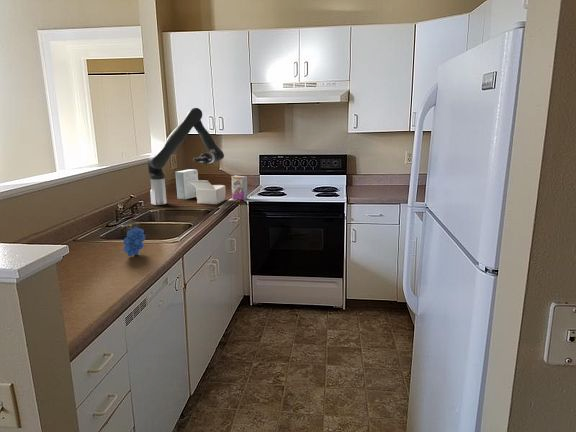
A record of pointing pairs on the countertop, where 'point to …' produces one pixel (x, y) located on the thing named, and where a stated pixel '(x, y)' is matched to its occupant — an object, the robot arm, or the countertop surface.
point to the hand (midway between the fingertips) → (196, 160)
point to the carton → (211, 195)
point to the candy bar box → (239, 187)
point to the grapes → (134, 241)
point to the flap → (201, 184)
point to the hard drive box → (186, 183)
